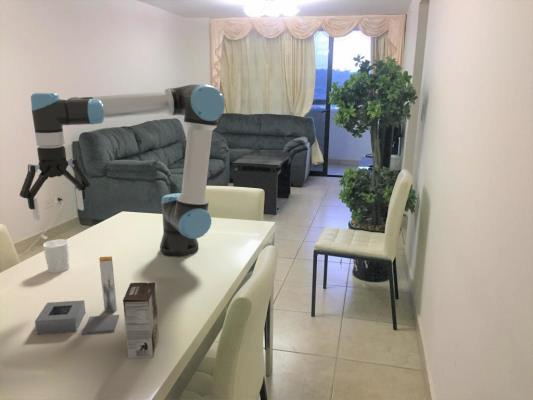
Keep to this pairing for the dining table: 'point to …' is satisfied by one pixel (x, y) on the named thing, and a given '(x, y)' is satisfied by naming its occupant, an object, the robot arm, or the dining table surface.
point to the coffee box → (141, 320)
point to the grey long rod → (108, 284)
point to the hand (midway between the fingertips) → (59, 214)
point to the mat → (100, 324)
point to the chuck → (60, 317)
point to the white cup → (57, 255)
